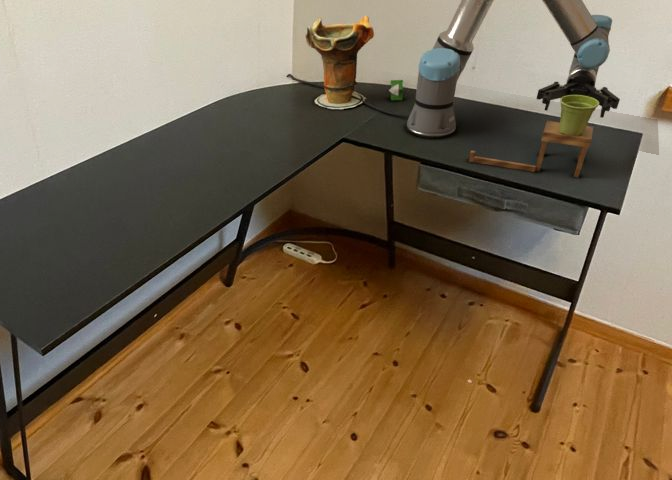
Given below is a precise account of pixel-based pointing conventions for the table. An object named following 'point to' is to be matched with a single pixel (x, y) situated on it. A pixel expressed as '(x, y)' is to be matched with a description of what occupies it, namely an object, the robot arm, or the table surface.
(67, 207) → the table surface
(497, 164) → the plant stand
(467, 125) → the table surface
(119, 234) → the table surface
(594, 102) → the plant pot
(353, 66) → the decorative vase
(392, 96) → the geometric puzzle
